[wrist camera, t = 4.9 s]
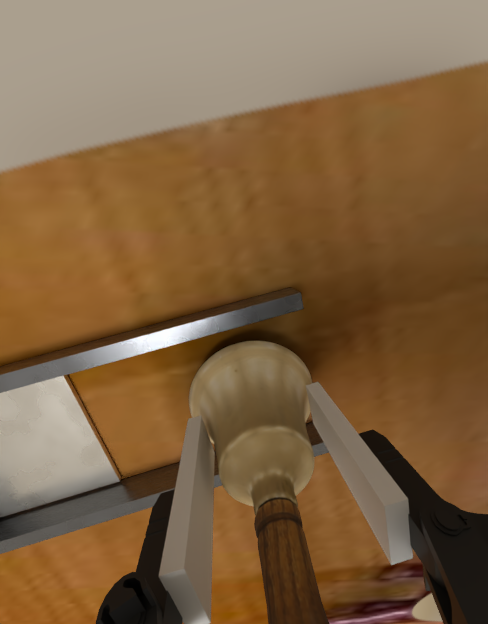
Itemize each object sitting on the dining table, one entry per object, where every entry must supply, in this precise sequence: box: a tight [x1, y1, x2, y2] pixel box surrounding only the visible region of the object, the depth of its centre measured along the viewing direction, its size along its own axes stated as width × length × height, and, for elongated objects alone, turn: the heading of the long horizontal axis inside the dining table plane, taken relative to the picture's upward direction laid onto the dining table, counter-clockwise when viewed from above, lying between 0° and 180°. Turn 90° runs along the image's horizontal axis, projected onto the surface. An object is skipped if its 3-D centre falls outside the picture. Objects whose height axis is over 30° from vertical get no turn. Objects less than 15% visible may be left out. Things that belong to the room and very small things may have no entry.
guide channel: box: [0, 288, 329, 554], centre depth 15 cm, size 12×26×2 cm, turn 104°
